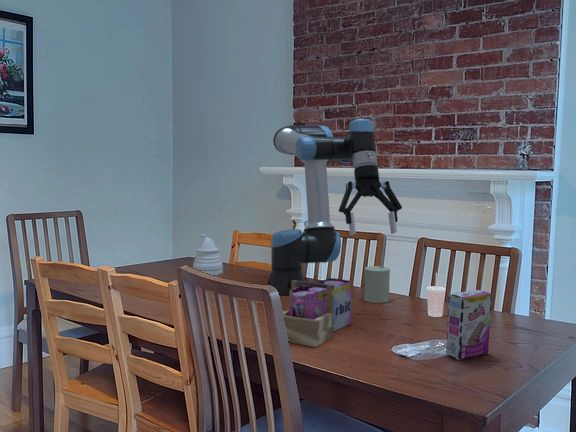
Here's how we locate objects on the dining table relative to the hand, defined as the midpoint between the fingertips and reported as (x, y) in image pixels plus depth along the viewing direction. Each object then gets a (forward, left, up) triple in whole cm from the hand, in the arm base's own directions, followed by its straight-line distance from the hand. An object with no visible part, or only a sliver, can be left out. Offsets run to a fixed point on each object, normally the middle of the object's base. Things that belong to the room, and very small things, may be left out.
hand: (373, 233), depth 181 cm
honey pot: (-34, -88, -28) cm, 98 cm away
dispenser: (+24, -11, -28) cm, 38 cm away
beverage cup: (-19, +15, -28) cm, 37 cm away
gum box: (+15, -10, -28) cm, 34 cm away
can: (-29, -9, -28) cm, 41 cm away
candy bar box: (+16, +33, -28) cm, 46 cm away
